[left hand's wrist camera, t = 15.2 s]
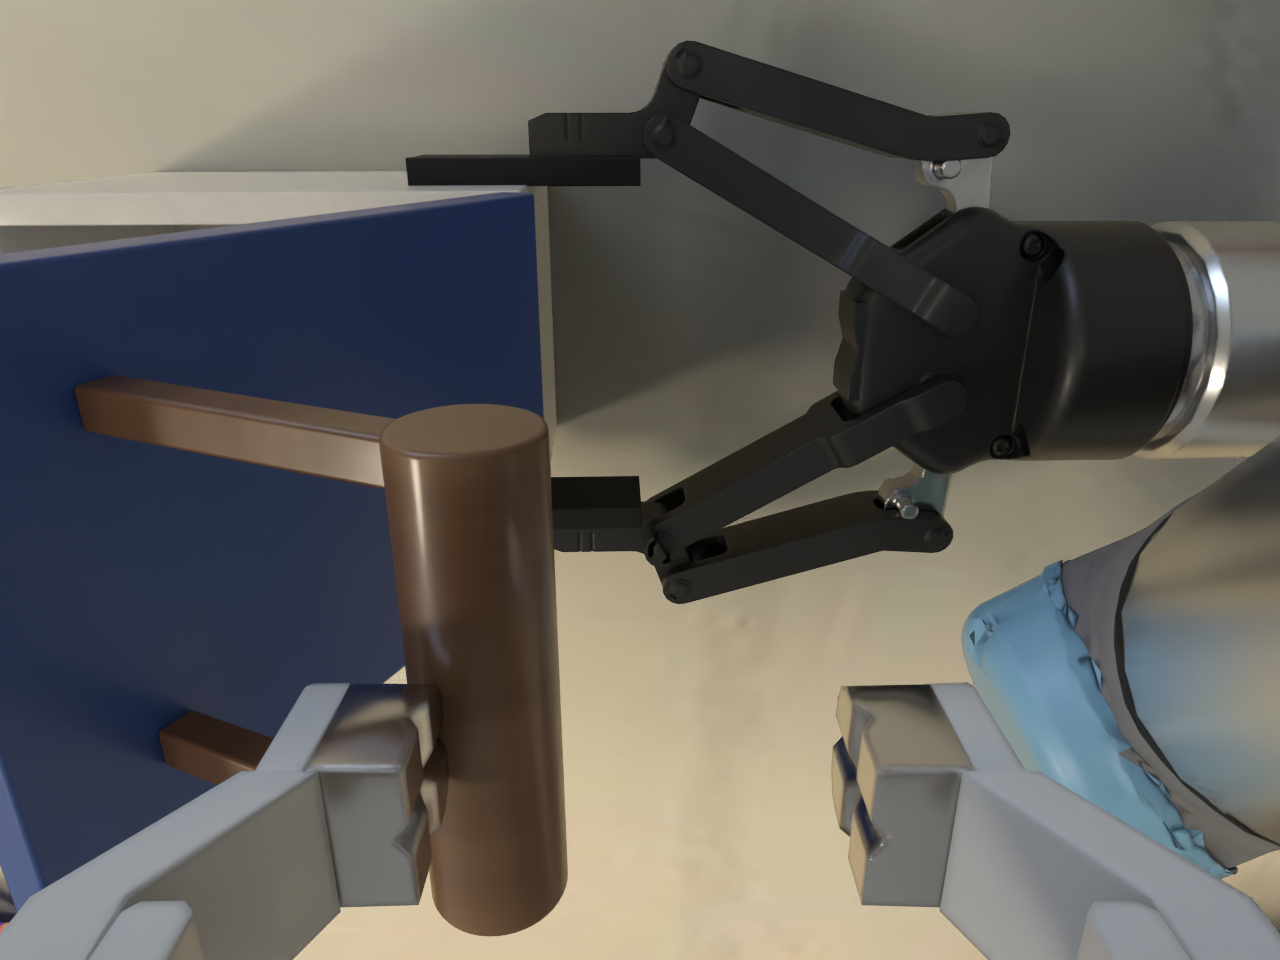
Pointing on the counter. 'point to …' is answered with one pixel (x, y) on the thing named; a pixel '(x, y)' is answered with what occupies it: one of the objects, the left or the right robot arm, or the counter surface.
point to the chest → (241, 215)
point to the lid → (279, 526)
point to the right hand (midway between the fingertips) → (432, 348)
